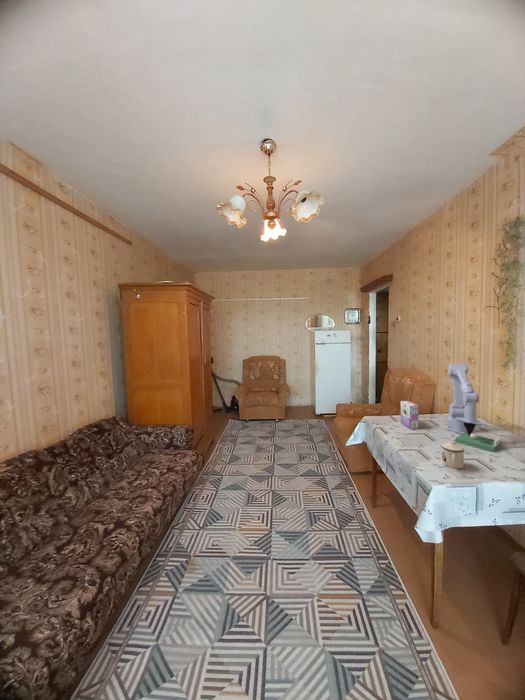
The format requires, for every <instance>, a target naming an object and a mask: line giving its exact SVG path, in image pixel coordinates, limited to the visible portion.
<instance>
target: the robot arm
mask: <svg viewBox="0 0 525 700" xmlns="http://www.w3.org/2000/svg"><path fill="white" fill-rule="evenodd" d="M447 371H448V372H447V373H448V377H450V378H451V383H452V384H451V385H452V393H453V394H452V396H453V402H451V404H449V406H448V407H449V408H448V412H449V413H448V414H449V416H448V417H447V429H446V431H450V432H454V433H459V434H461V435H462V434H463V433H468V436H470V434H471V433H474V429H476V426H481V427H483V428H486V427H487V423H486V422H483V421H481V420H477V411H478V410H477V404H478V403H479V400H480V399H479V394H478V393H477V392H476V391H475V390H474V387H473V384H472V383H471V382H469V379H468V372H469V366H468V364H467V363H449V364H448V366H447Z"/></svg>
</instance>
